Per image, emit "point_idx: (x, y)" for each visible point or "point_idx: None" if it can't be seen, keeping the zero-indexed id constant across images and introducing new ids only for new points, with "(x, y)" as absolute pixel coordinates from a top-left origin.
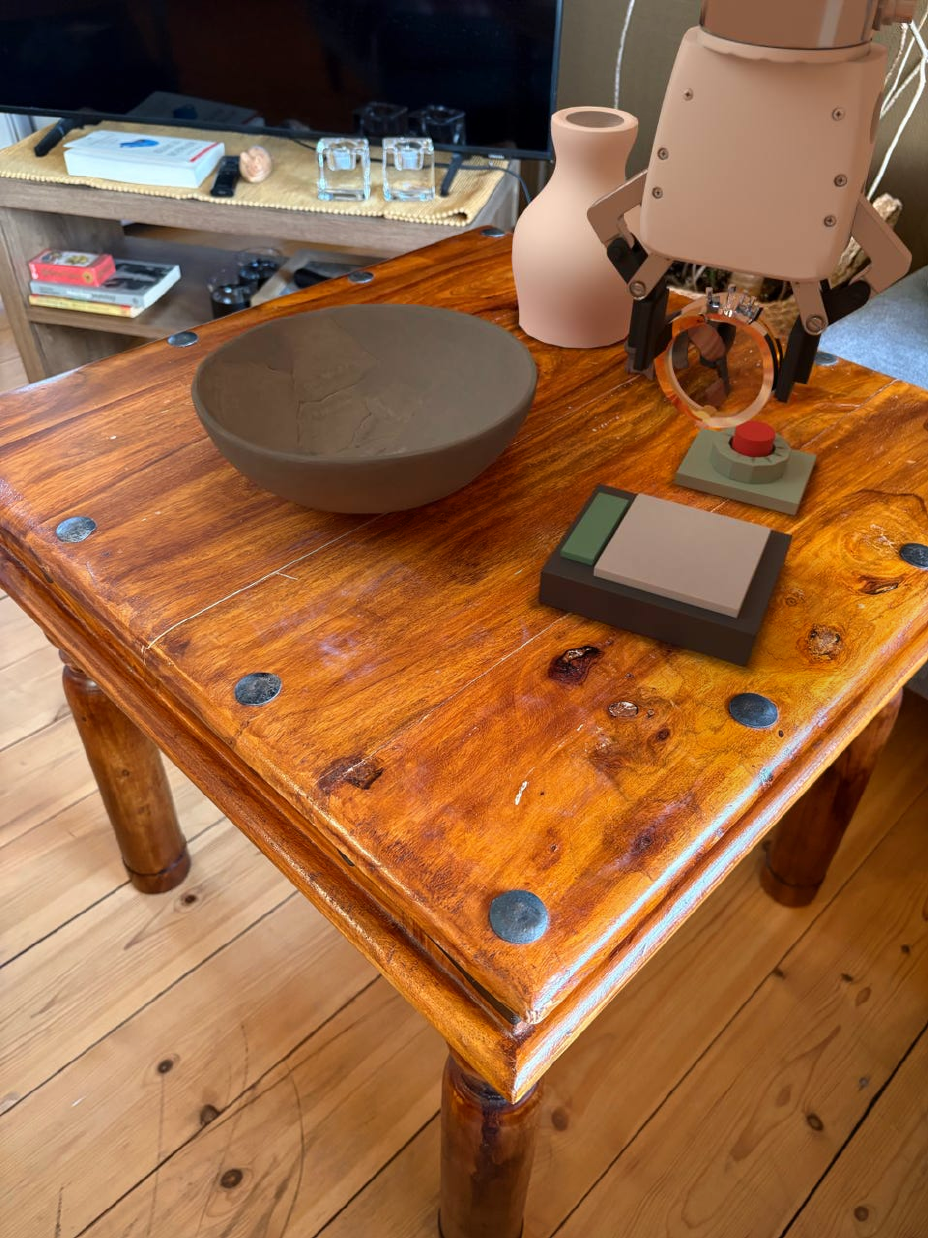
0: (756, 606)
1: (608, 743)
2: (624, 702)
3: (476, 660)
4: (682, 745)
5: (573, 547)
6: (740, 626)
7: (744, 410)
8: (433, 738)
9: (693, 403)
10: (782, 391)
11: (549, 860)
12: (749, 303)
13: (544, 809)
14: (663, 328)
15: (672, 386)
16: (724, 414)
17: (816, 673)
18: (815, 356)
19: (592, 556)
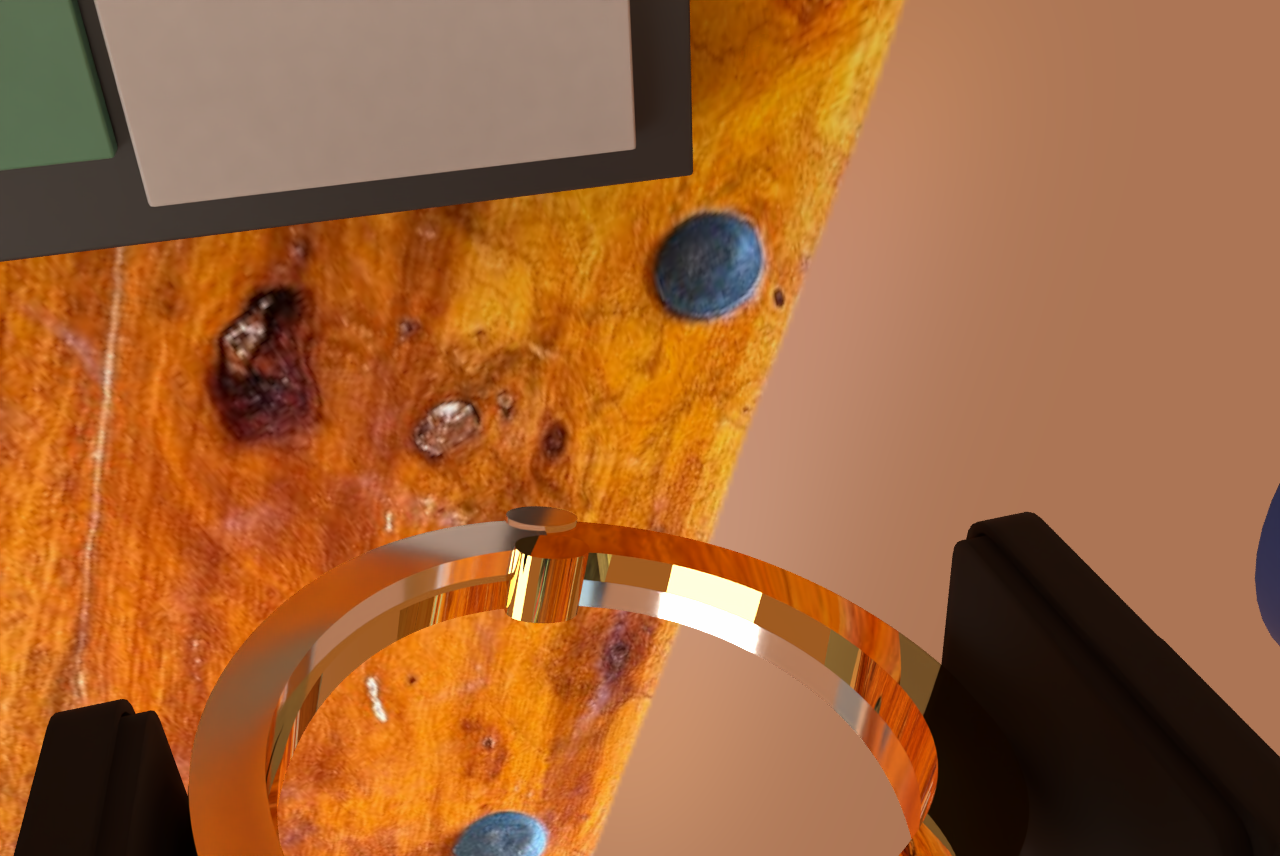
0: (664, 53)
1: (464, 522)
2: (439, 408)
3: (43, 495)
4: (602, 442)
5: (10, 136)
6: (647, 166)
7: (754, 629)
8: (140, 708)
9: (460, 569)
10: None
11: (494, 762)
12: None
13: (434, 701)
14: (132, 822)
15: (342, 671)
16: (640, 578)
17: (822, 56)
18: (1202, 679)
19: (101, 144)
